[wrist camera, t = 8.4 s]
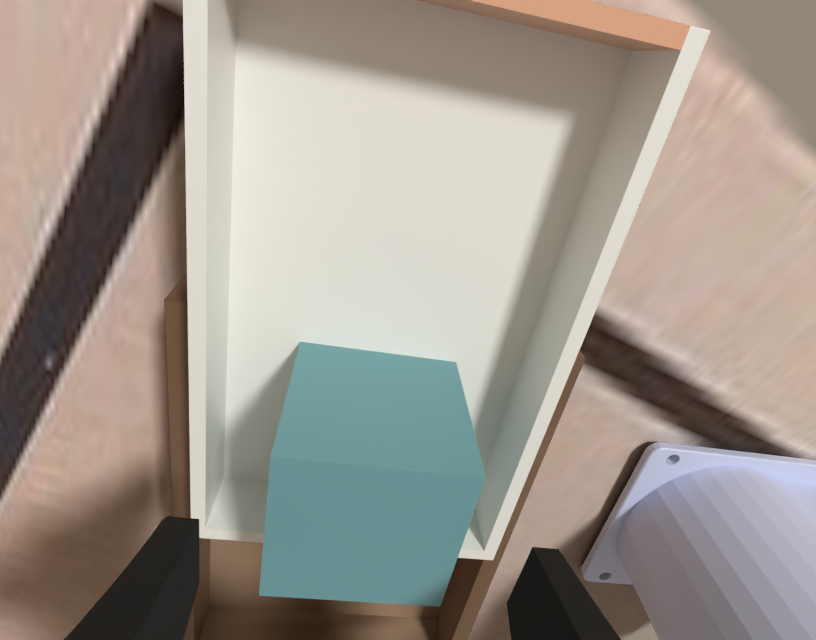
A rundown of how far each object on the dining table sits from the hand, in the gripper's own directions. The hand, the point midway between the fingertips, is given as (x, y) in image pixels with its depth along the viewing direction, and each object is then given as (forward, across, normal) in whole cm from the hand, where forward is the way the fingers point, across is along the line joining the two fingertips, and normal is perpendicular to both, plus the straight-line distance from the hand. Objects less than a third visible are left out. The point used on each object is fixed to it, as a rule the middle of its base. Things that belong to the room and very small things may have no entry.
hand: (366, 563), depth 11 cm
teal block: (+5, 0, 0) cm, 5 cm away
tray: (+6, 0, -4) cm, 7 cm away
